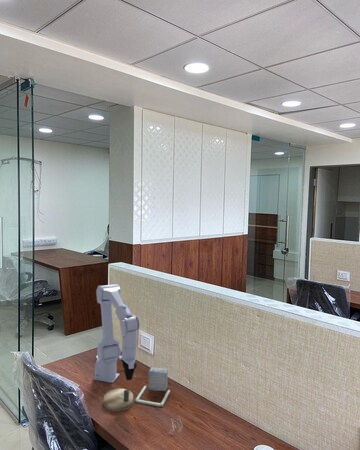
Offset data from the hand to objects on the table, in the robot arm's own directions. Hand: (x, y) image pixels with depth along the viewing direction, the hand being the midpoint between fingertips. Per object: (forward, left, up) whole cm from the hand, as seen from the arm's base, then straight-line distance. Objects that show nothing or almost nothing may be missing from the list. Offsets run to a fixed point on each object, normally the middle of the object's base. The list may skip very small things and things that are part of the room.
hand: (128, 377), depth 149 cm
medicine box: (+9, +13, -11) cm, 19 cm away
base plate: (-4, -2, -10) cm, 11 cm away
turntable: (-4, -2, -10) cm, 11 cm away
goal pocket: (+9, +7, -10) cm, 15 cm away
